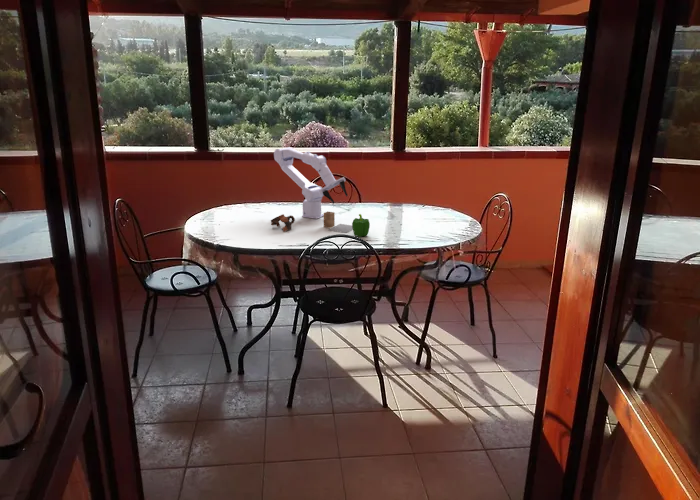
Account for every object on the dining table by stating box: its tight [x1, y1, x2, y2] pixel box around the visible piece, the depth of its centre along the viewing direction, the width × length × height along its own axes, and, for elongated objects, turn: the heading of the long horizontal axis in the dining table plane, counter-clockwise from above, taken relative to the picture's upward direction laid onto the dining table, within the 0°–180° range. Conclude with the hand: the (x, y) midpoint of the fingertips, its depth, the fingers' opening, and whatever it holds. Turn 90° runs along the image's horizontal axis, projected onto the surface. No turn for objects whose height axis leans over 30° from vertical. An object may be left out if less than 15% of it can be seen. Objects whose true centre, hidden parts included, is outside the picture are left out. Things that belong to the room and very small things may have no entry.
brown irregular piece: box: [270, 214, 295, 232], centre depth 271 cm, size 12×10×8 cm
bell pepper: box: [351, 213, 371, 237], centre depth 259 cm, size 8×8×10 cm
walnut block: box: [323, 211, 336, 229], centre depth 274 cm, size 4×4×7 cm
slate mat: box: [328, 223, 353, 234], centre depth 272 cm, size 10×12×1 cm
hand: (340, 199), depth 278 cm, fingers open, 7 cm apart
